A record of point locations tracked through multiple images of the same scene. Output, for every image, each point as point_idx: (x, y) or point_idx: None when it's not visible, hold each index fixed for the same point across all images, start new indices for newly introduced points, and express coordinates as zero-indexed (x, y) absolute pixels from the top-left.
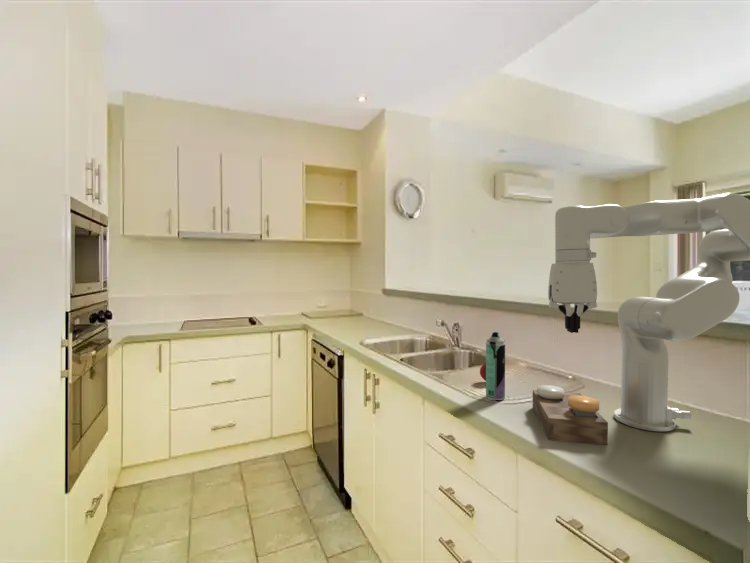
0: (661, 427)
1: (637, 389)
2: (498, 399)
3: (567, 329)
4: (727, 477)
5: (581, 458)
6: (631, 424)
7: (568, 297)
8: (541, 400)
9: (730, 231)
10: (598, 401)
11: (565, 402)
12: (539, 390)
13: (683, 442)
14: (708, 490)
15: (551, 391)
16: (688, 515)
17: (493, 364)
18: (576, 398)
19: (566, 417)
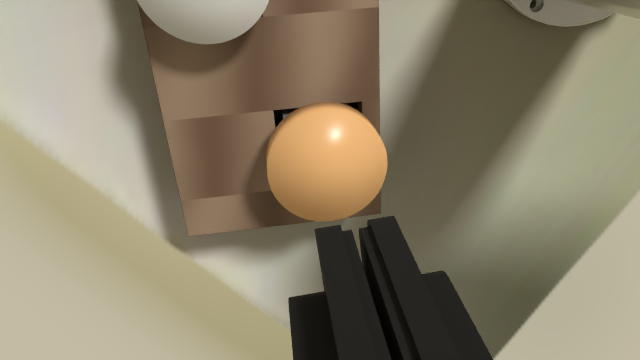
0: (594, 20)
1: (623, 5)
2: None
3: (318, 249)
4: (566, 251)
5: (273, 273)
6: (507, 2)
7: None
8: (160, 41)
9: None
10: (385, 168)
11: (270, 38)
12: (141, 6)
13: (600, 83)
14: (490, 312)
15: (205, 22)
16: None
17: None
18: (303, 158)
19: (250, 212)
